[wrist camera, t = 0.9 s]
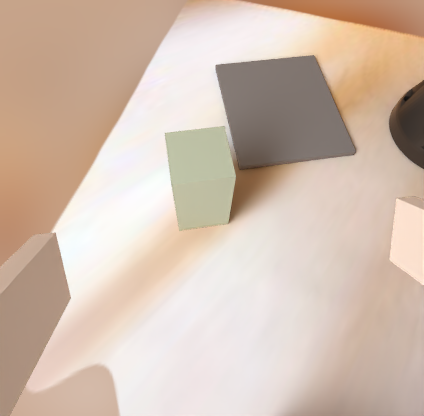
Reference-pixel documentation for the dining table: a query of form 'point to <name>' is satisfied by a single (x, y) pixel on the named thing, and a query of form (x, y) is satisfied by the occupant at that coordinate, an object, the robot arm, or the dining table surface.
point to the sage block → (201, 176)
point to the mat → (281, 112)
